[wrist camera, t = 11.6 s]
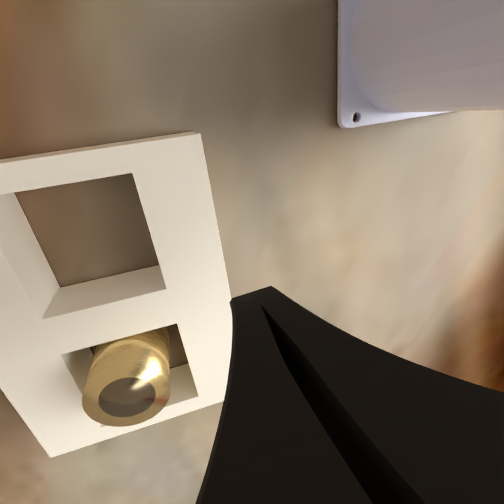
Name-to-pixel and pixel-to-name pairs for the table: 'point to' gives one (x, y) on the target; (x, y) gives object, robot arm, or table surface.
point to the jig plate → (112, 289)
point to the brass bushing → (128, 379)
